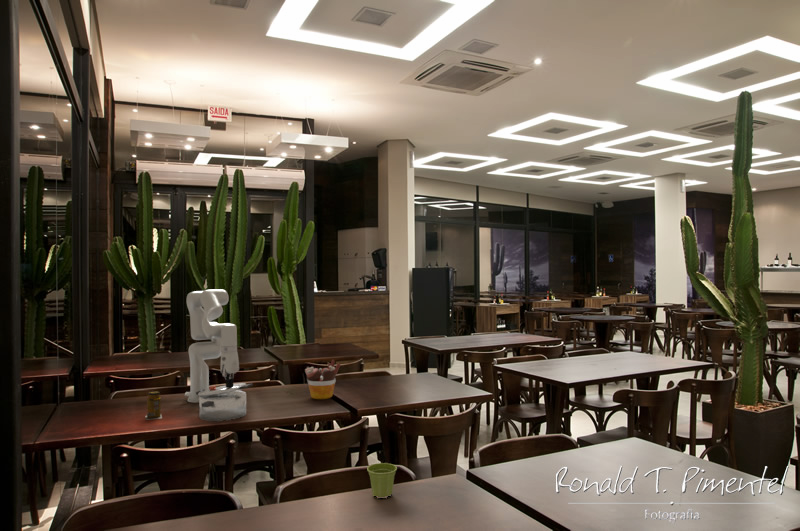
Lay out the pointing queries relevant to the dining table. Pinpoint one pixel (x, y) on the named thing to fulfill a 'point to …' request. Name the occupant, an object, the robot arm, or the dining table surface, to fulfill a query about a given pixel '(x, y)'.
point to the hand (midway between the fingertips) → (229, 387)
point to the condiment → (153, 406)
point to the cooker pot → (223, 406)
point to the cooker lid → (222, 389)
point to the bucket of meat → (322, 381)
